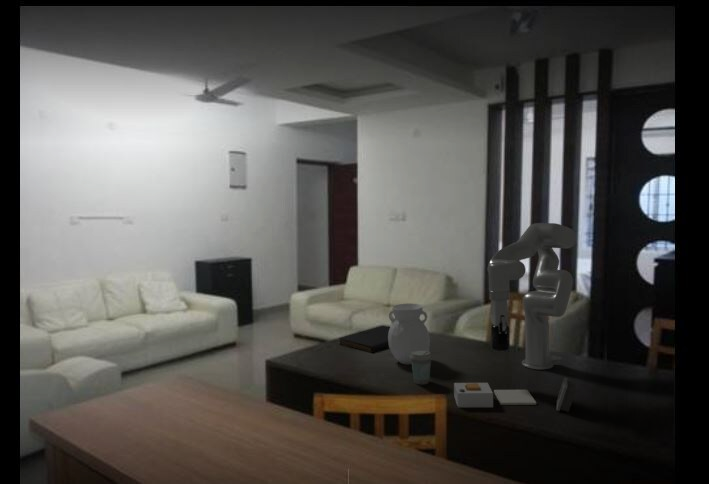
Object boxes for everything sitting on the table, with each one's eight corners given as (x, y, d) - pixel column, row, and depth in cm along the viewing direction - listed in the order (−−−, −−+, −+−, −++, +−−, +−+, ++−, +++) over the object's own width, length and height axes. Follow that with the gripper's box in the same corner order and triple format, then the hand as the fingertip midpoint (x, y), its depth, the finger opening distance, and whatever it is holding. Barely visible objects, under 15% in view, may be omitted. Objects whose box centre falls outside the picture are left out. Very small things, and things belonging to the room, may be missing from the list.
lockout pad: (527, 391, 187) (527, 389, 187) (536, 404, 175) (536, 402, 175) (494, 391, 188) (493, 389, 188) (500, 404, 176) (500, 402, 176)
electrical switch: (556, 401, 177) (559, 375, 176) (572, 404, 175) (575, 378, 174) (556, 412, 169) (559, 385, 168) (573, 415, 167) (576, 388, 166)
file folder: (382, 324, 281) (416, 332, 264) (382, 332, 282) (416, 340, 264) (338, 337, 258) (372, 346, 241) (338, 345, 259) (372, 354, 242)
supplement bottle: (510, 351, 191) (510, 320, 189) (491, 351, 192) (491, 320, 191) (508, 346, 197) (508, 315, 196) (490, 345, 199) (490, 315, 198)
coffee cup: (418, 387, 195) (418, 356, 194) (406, 380, 202) (405, 351, 202) (436, 383, 199) (436, 353, 198) (424, 376, 206) (423, 348, 205)
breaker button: (477, 395, 181) (477, 383, 181) (479, 399, 177) (479, 387, 177) (466, 395, 181) (466, 383, 181) (468, 399, 178) (467, 387, 177)
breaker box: (487, 396, 184) (487, 381, 184) (493, 407, 174) (492, 391, 174) (454, 396, 185) (454, 381, 184) (457, 407, 175) (457, 392, 175)
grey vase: (382, 366, 222) (381, 309, 220) (395, 353, 239) (394, 301, 237) (424, 369, 215) (423, 311, 213) (434, 357, 232) (433, 303, 230)
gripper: (485, 291, 202) (486, 334, 203) (493, 300, 184) (494, 347, 186) (504, 290, 201) (505, 334, 203) (514, 299, 184) (515, 347, 185)
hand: (500, 340), depth 194 cm, fingers closed on supplement bottle, 6 cm apart
